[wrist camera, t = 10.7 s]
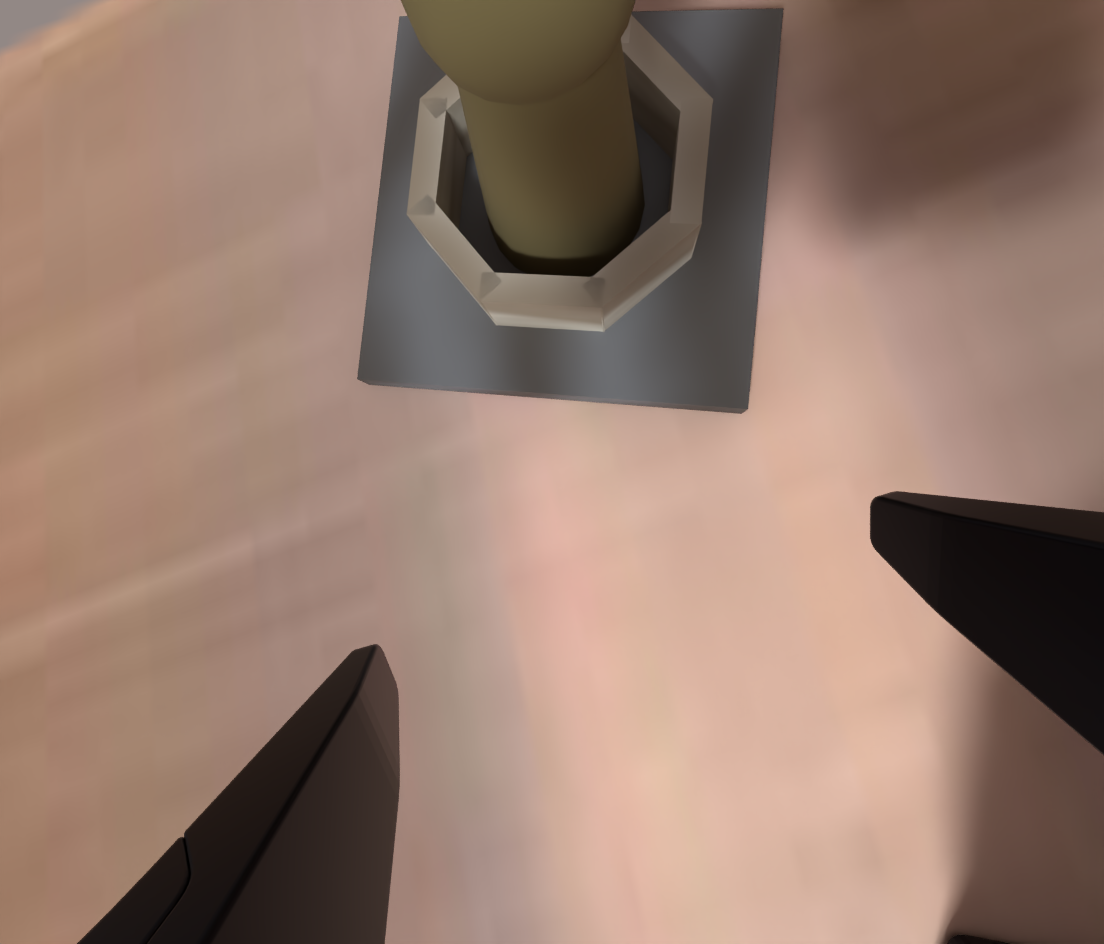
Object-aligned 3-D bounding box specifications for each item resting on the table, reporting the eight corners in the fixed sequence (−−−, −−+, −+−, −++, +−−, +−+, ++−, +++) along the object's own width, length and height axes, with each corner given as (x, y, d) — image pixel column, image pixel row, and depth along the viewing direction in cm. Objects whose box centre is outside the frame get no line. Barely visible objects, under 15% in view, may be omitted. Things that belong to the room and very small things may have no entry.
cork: (522, 110, 20) (409, -334, 9) (669, 153, 20) (730, -281, 9) (465, 254, 20) (286, -26, 10) (609, 303, 20) (594, 59, 9)
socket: (775, 32, 20) (807, -64, 17) (741, 413, 20) (767, 395, 16) (409, 37, 22) (370, -48, 19) (369, 384, 22) (321, 362, 18)
